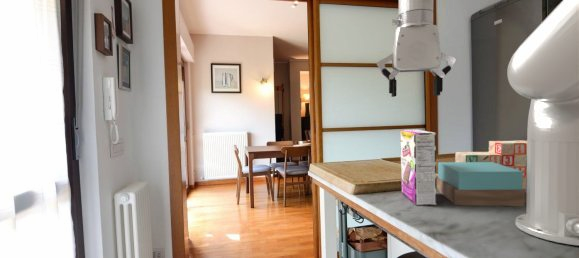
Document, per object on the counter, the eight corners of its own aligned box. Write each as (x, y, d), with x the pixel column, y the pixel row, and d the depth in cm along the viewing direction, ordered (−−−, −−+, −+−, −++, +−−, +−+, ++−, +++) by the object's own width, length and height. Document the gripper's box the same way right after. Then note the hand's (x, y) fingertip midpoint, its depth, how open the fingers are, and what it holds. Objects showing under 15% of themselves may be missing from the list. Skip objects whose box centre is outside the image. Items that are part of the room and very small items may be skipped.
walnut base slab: (524, 208, 67) (525, 190, 67) (454, 207, 70) (454, 189, 69) (494, 192, 81) (494, 176, 81) (436, 191, 83) (436, 176, 83)
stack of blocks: (464, 189, 83) (464, 143, 82) (454, 184, 89) (454, 141, 88) (551, 189, 81) (552, 142, 80) (535, 184, 87) (535, 139, 86)
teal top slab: (522, 189, 67) (522, 171, 67) (458, 189, 69) (458, 171, 69) (491, 177, 80) (491, 162, 80) (438, 177, 82) (438, 162, 82)
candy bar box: (400, 193, 80) (399, 129, 80) (419, 193, 80) (419, 129, 79) (414, 206, 69) (413, 132, 68) (437, 205, 69) (437, 132, 68)
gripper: (378, 20, 71) (378, 96, 72) (461, 15, 68) (460, 94, 69) (375, 29, 78) (375, 97, 79) (450, 24, 75) (449, 95, 76)
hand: (415, 96), depth 74 cm, fingers open, 9 cm apart
